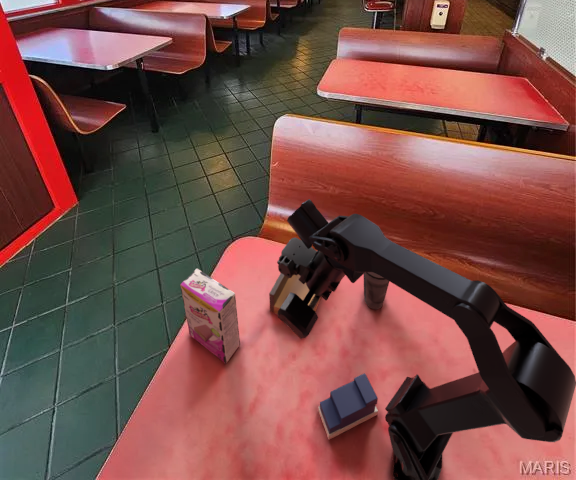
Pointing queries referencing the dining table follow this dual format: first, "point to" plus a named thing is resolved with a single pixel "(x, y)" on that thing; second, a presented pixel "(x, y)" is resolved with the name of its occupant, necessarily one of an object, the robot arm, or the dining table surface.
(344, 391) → the navy stepped block
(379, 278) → the beverage cup
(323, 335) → the dining table surface
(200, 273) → the candy bar box
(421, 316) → the dining table surface
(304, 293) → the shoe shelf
